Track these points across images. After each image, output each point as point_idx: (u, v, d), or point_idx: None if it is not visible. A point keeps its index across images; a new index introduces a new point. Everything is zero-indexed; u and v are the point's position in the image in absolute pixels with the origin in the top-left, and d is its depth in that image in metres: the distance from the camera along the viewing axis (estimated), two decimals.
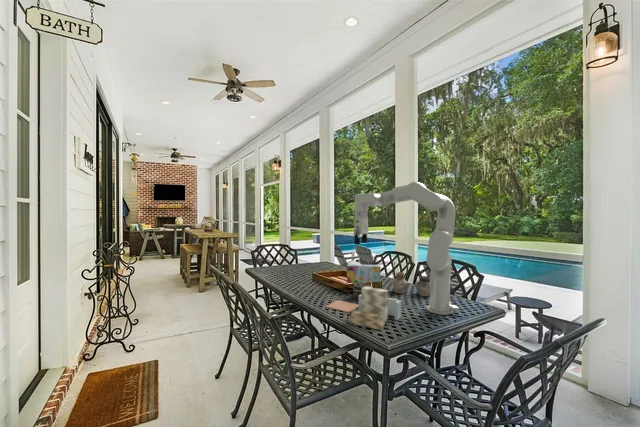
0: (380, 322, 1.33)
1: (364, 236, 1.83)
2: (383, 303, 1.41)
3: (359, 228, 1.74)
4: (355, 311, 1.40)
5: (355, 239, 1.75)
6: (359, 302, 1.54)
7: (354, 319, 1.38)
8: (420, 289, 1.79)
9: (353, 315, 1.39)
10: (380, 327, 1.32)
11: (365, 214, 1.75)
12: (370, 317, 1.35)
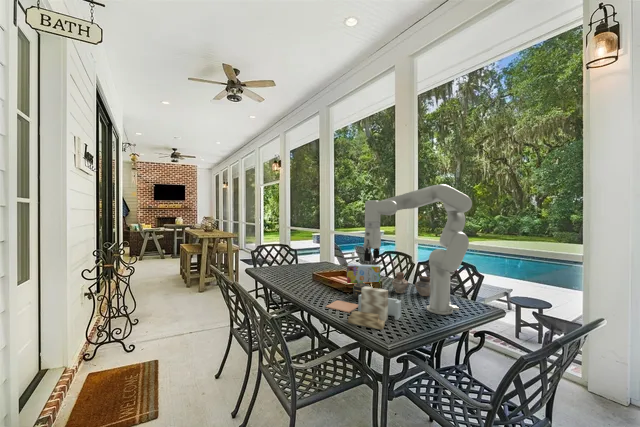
0: (381, 322, 1.34)
1: (376, 251, 1.54)
2: (383, 303, 1.41)
3: (370, 242, 1.45)
4: (355, 311, 1.39)
5: (365, 255, 1.46)
6: (359, 302, 1.54)
7: (354, 319, 1.38)
8: (420, 289, 1.79)
9: (353, 315, 1.38)
10: (381, 327, 1.32)
11: (377, 225, 1.46)
12: (371, 317, 1.35)
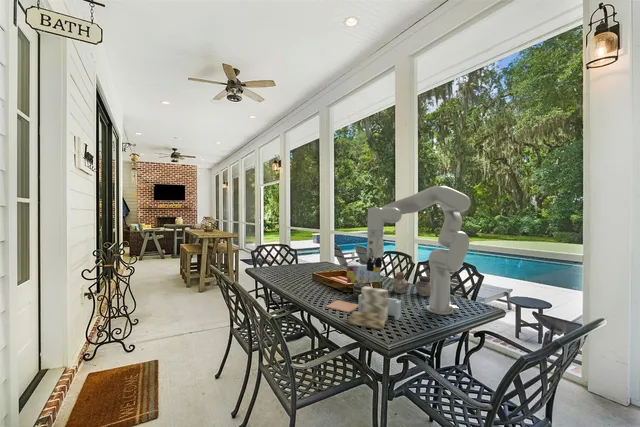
0: (381, 321, 1.35)
1: (378, 260, 1.48)
2: (383, 303, 1.41)
3: (373, 251, 1.39)
4: (355, 312, 1.39)
5: (368, 264, 1.40)
6: (359, 302, 1.54)
7: (354, 319, 1.38)
8: (420, 289, 1.79)
9: (354, 316, 1.37)
10: (382, 326, 1.33)
11: (381, 233, 1.41)
12: (372, 317, 1.35)
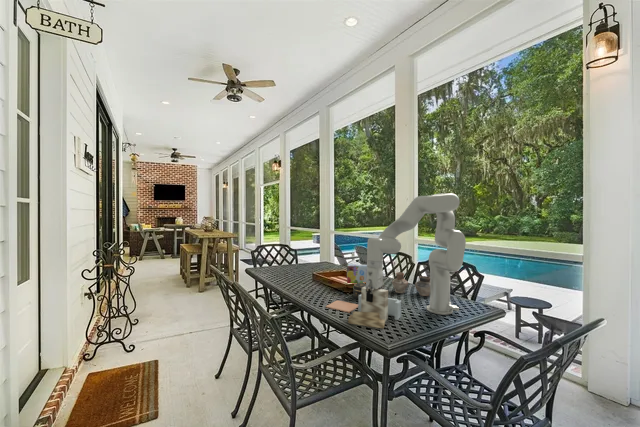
0: (381, 321, 1.35)
1: None
2: (383, 303, 1.41)
3: (372, 282, 1.40)
4: (355, 312, 1.39)
5: (367, 295, 1.40)
6: (359, 302, 1.54)
7: (355, 320, 1.38)
8: (420, 289, 1.79)
9: (354, 316, 1.37)
10: (382, 326, 1.33)
11: (380, 264, 1.41)
12: (373, 316, 1.36)
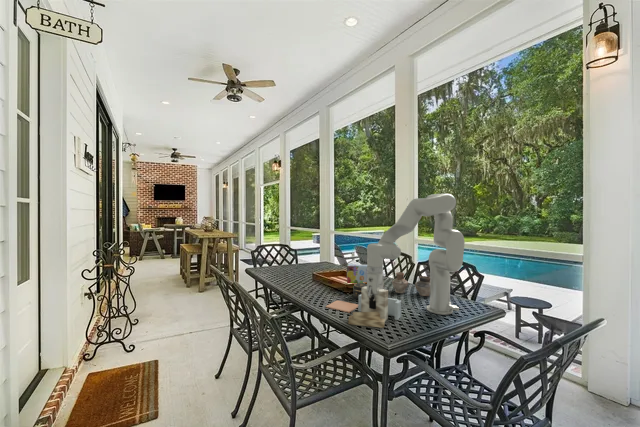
0: (382, 320, 1.36)
1: None
2: (383, 303, 1.41)
3: (373, 291, 1.40)
4: (355, 313, 1.38)
5: (370, 303, 1.43)
6: (359, 302, 1.54)
7: (355, 320, 1.37)
8: (420, 289, 1.79)
9: (355, 317, 1.36)
10: (383, 325, 1.34)
11: (380, 270, 1.42)
12: (373, 316, 1.36)
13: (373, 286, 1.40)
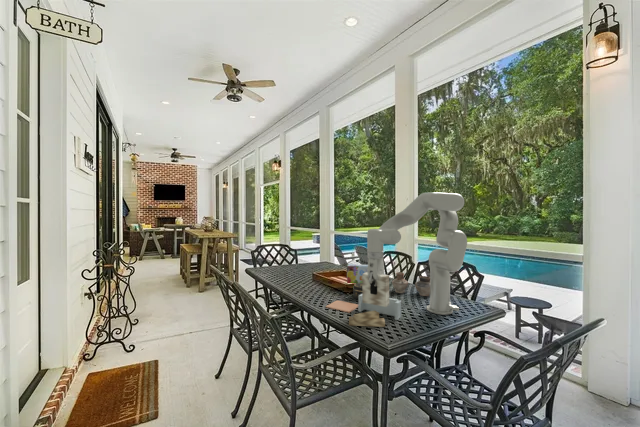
0: (382, 319, 1.37)
1: None
2: (384, 288, 1.40)
3: (374, 277, 1.40)
4: (357, 315, 1.36)
5: (371, 288, 1.43)
6: (359, 302, 1.54)
7: None
8: (420, 289, 1.79)
9: (358, 319, 1.34)
10: (384, 324, 1.35)
11: (381, 255, 1.41)
12: (374, 315, 1.38)
13: (374, 271, 1.40)
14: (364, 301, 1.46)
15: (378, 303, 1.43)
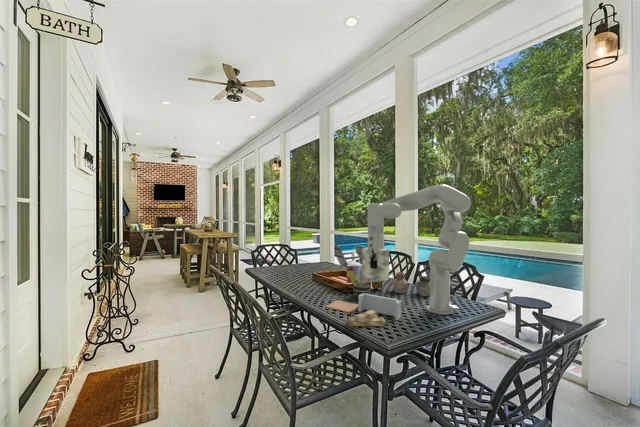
0: (382, 319, 1.38)
1: None
2: (384, 262, 1.40)
3: (374, 250, 1.39)
4: (358, 316, 1.35)
5: (371, 262, 1.42)
6: (359, 302, 1.54)
7: (356, 322, 1.36)
8: (420, 289, 1.79)
9: (361, 320, 1.33)
10: (384, 324, 1.36)
11: (381, 229, 1.41)
12: (373, 314, 1.38)
13: (374, 245, 1.39)
14: (364, 276, 1.46)
15: (378, 277, 1.42)
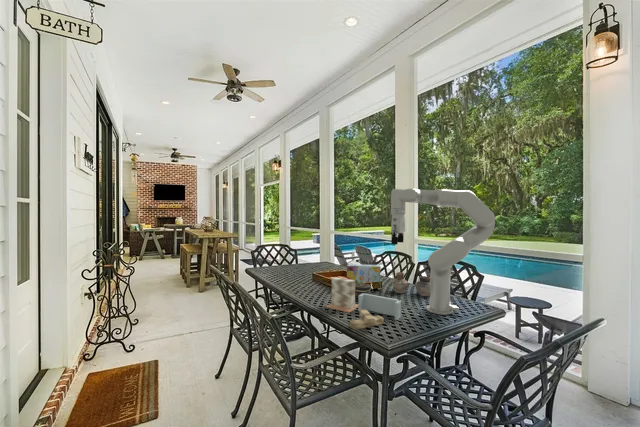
0: (379, 317, 1.40)
1: (400, 235, 1.68)
2: (350, 292, 1.56)
3: (397, 227, 1.60)
4: (370, 318, 1.32)
5: (392, 239, 1.60)
6: (359, 302, 1.54)
7: (360, 324, 1.33)
8: (420, 289, 1.79)
9: None
10: (383, 321, 1.39)
11: (403, 211, 1.61)
12: None
13: (397, 225, 1.60)
14: (333, 303, 1.62)
15: (344, 305, 1.58)
